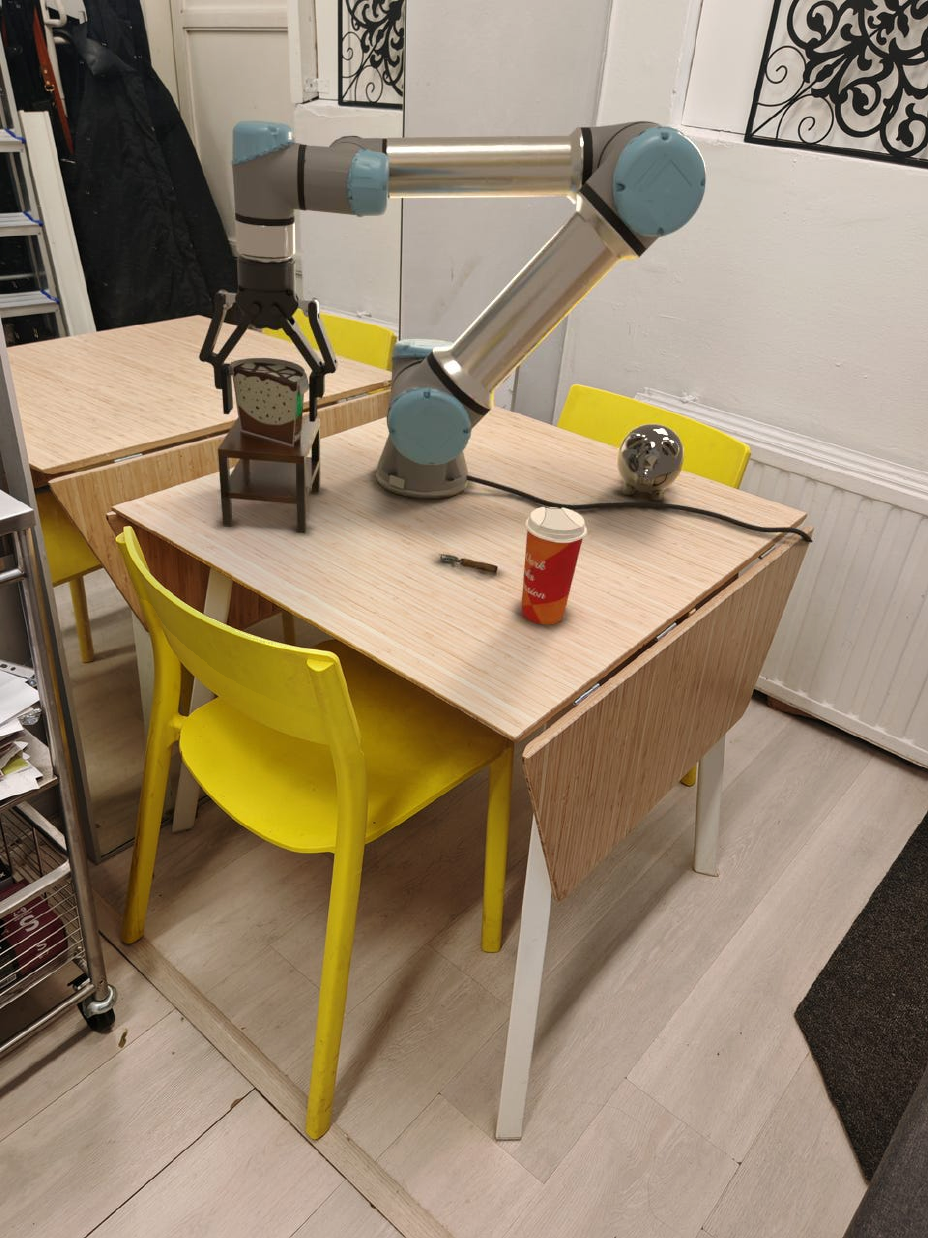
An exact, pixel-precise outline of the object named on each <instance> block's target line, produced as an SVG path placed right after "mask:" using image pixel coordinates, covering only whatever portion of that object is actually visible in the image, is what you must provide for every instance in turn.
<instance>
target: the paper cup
mask: <svg viewBox="0 0 928 1238" xmlns="http://www.w3.org/2000/svg"><path fill="white" fill-rule="evenodd" d="M585 524H586V521H585V519H584V517H583V516H582V514H580V513H578V512H577V511H576V510H570V509H566V508H561V509H558V507H546V506H541V507H537V508H535V509H533V510H532V511H531V512H530V514H529V516H528V517H527V519H526V521H525V523H524V525H525V528H526V540H525V543H526V544H525V554H524V565H523V566H524V567H523V568H524V569H523V579H522V591H521V592H522V594H521V614H522V616H523V617H524V618H525V619H526V620H528V621H530V622H532V623H535V624H538V625H544V626H545V625H546V626H547V625H554V624H557V623H559V622H561V621H562V620H563V618H564V615H565V611H566V607H567V604H568V600H569V596H570V592H571V588H572V584H573V579H574V576H575V571H576V568H577V564H578V560H579V556H580V551H581V547H582V543H583V539H584V538H585V537H586V535H587V532H588V531H587V526H586V525H585Z"/></svg>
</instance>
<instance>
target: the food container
mask: <svg viewBox="0 0 928 1238" xmlns="http://www.w3.org/2000/svg"><path fill="white" fill-rule="evenodd" d="M230 364H231V366H230V368H229V376H231V378H232V385H233V389H234V396H235V404H236V411H237V418H239V425H240V432H244V433H247V434H251V435H254V436H258V437H261V438H264V439H268V440H271V441H275V442H278V443H282V444H285V445H289V446H292V447H294V446H296V445H298V443H299V442H300V440H301V427H302V417H303V414H304V399H305V393H307V392H309V377H308V374H307V373H306V371H305V369H304V367H303V366H302V365H300V364H297V363H296V362H293V361H289V360H286V359H280V358H271V357H250V358H241V359H237V360H234V361H231V362H230Z"/></svg>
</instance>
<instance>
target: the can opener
mask: <svg viewBox="0 0 928 1238" xmlns="http://www.w3.org/2000/svg"><path fill="white" fill-rule="evenodd" d="M437 555H438V556H440V557H439V559H440V561H442V562H445V561H448V562H449V563H459V565H462V566H463V567H467V568H468V567H469V568H474V569H476V570H479V571H483V572H488V573H493V574H497V572H498V569H499V566H498V565H496V564H492V563H489V562H483V561H477V560H472V559H469V558H463V557H462V558H460V559H459V557H457V556H454V555H451V554H445V553H439V554H437ZM443 557H445V558H443Z"/></svg>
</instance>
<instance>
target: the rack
mask: <svg viewBox="0 0 928 1238" xmlns="http://www.w3.org/2000/svg"><path fill="white" fill-rule="evenodd" d="M310 451H311V453H310ZM309 454H311V456H309ZM217 456H218V458H217V459H218V475H219V488H220V503H221V517H222V519H221V520H222V526H223V527H231V528H232V527H233V526H232V525H233V524H234V521H233V504H232V503H233V502H232V500H241V501H251V502H252V501H254V502H263V503H264V502H267V503H278V504H291V505H296V532H297V533H303V534H305V533H306V531H307V500H308V498H309V495H310V492H311V493H314V494H315V493H316V494H319V493H320V492H321V418H319V417H316V420H315V422H310V421H309V417H308V416H302V427H301V440H300V442H299V443H298V445H296V446H294V447H292V446H289V445H285V444H282V443H278V442H275V441H271V440H268V439H264V438H261V437H258V436H254V435H251V434H247V433H244V432H240V425H239V418H238V417H237V418H236V420H235V421H234V423H233V424H232V426H231V427H230V429H229V431H228V432H227V434H226V435H225V437H224V439H223V440H222V442H221V443H220V444H219V446H218V448H217ZM230 459H236V460H237V459H238V461H237V462H236V463H235V466H234V467H233V469H232V471H231V468H230Z"/></svg>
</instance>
